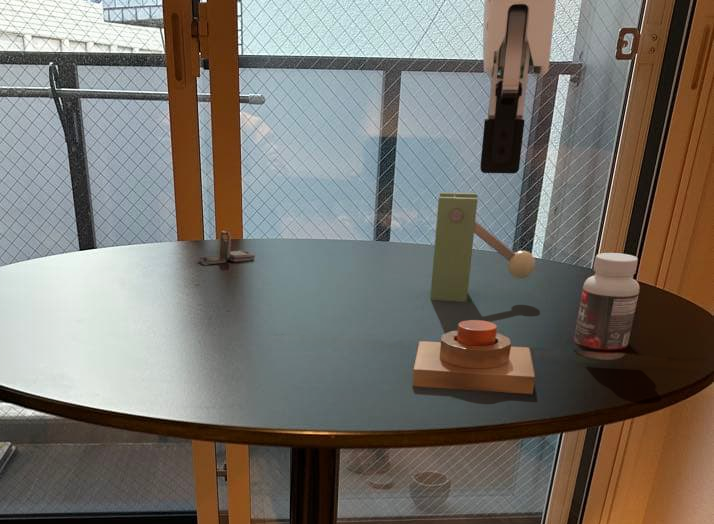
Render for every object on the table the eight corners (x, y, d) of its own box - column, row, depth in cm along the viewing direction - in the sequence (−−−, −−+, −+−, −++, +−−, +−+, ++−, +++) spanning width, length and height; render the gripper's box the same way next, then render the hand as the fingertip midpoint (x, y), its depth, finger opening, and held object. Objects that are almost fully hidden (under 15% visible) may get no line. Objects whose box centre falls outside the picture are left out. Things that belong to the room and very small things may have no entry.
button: (494, 339, 78) (496, 321, 77) (495, 350, 75) (497, 331, 74) (456, 336, 78) (458, 318, 77) (456, 347, 75) (457, 329, 74)
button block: (527, 363, 81) (532, 329, 79) (532, 394, 73) (538, 357, 72) (417, 357, 83) (420, 323, 81) (412, 386, 75) (414, 349, 73)
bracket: (495, 299, 103) (509, 192, 97) (497, 317, 96) (512, 202, 89) (402, 294, 105) (409, 188, 99) (397, 312, 98) (404, 199, 91)
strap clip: (248, 256, 125) (247, 227, 123) (256, 260, 123) (255, 230, 121) (196, 261, 122) (195, 231, 120) (204, 265, 120) (202, 235, 117)
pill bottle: (560, 349, 85) (577, 253, 80) (599, 343, 87) (618, 249, 82) (596, 364, 81) (616, 264, 76) (636, 357, 83) (658, 259, 78)
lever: (521, 280, 99) (539, 259, 97) (522, 286, 96) (541, 264, 95) (439, 213, 97) (456, 190, 95) (438, 218, 94) (456, 194, 93)
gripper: (592, -120, 53) (551, 184, 62) (569, -85, 65) (537, 163, 75) (476, -115, 54) (452, 182, 63) (475, -82, 66) (456, 162, 76)
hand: (499, 171), depth 69 cm, fingers closed
